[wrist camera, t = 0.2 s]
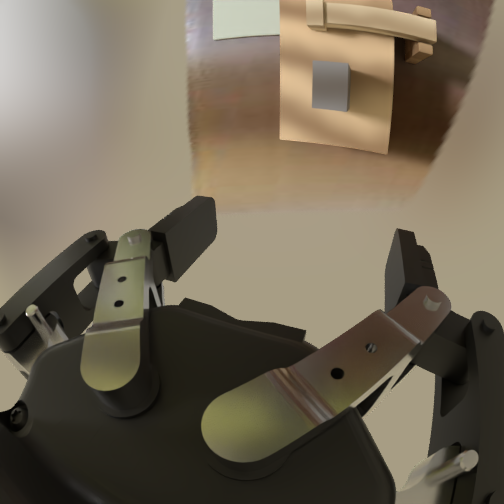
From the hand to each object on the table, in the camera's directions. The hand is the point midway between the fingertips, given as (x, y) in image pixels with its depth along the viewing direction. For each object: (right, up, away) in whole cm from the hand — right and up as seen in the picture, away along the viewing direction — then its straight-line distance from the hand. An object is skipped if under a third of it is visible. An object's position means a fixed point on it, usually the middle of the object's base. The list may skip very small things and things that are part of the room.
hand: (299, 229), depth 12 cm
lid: (+7, +19, +12) cm, 23 cm away
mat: (-2, +35, +14) cm, 38 cm away
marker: (+10, +22, +7) cm, 25 cm away
